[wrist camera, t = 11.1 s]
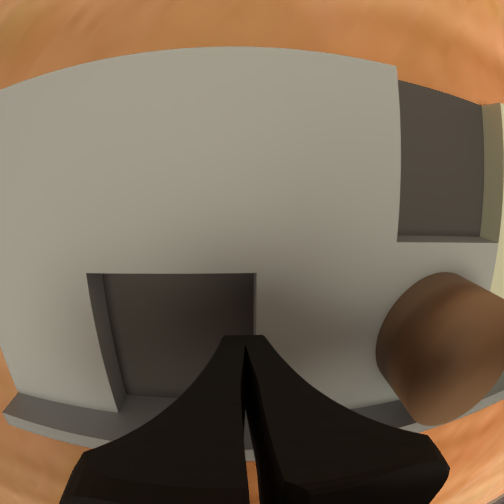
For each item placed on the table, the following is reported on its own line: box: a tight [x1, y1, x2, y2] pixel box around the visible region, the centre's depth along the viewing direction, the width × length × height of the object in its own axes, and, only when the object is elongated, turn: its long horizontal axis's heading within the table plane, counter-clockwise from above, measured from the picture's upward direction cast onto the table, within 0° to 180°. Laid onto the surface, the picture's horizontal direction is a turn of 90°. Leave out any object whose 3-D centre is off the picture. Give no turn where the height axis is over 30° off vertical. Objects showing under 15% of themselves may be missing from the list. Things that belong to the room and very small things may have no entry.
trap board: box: [0, 47, 504, 461], centre depth 10 cm, size 15×28×3 cm, turn 90°
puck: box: [375, 272, 504, 426], centre depth 10 cm, size 6×6×3 cm
